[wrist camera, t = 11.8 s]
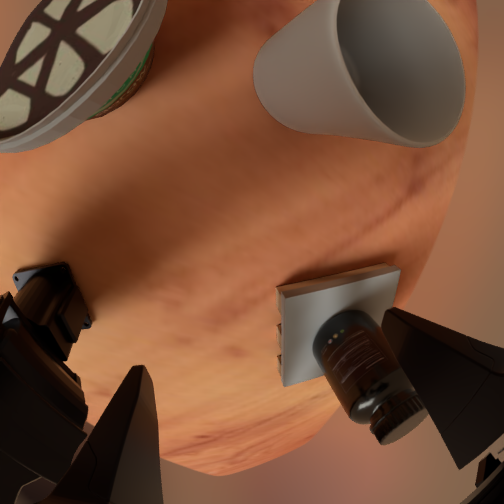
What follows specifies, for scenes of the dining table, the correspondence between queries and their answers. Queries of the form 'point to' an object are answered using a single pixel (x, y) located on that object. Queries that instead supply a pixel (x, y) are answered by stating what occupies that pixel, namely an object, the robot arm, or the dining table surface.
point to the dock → (326, 312)
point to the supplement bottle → (367, 376)
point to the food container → (73, 66)
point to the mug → (364, 72)
